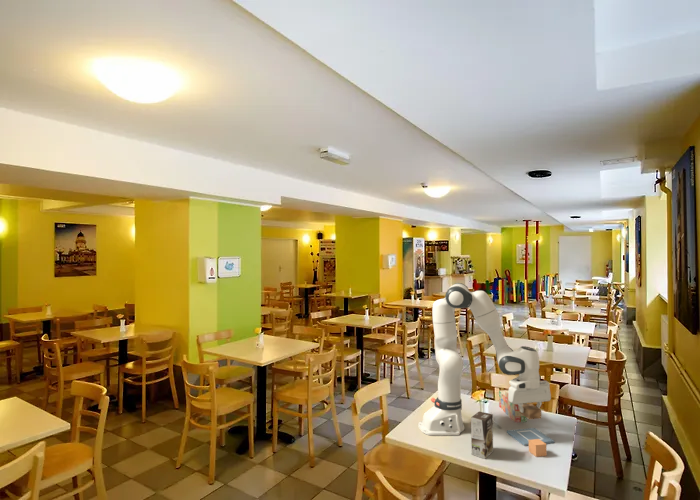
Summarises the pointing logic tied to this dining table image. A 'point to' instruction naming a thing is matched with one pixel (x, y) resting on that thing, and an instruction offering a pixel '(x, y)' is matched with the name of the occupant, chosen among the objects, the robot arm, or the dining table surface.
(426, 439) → the dining table surface
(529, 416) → the walnut brick
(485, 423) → the coffee box
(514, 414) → the colourful patterned carton
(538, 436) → the slate-blue board
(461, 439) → the dining table surface
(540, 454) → the terracotta cube
